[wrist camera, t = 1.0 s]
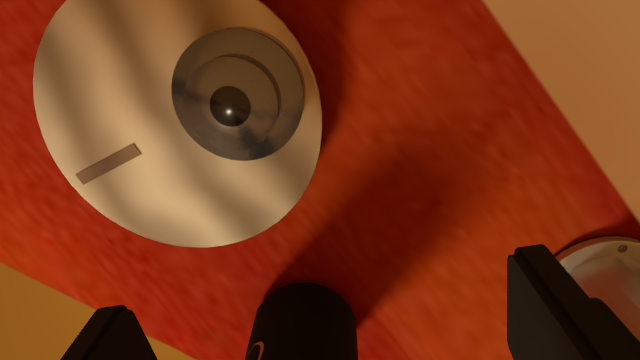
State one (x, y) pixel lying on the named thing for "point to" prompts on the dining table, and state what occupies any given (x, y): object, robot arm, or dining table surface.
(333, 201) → the dining table surface
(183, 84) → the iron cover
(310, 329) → the coffee jar
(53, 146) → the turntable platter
